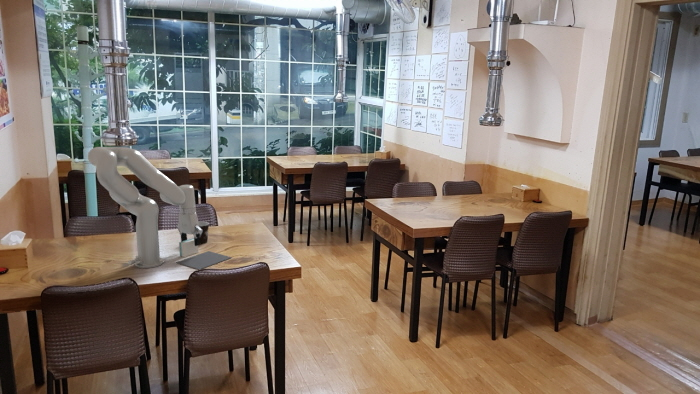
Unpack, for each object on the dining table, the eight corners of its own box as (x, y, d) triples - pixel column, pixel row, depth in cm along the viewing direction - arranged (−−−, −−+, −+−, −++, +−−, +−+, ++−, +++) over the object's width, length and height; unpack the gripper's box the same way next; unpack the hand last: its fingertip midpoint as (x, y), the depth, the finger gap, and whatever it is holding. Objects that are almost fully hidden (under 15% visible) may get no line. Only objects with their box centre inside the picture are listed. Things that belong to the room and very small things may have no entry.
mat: (199, 270, 237) (199, 269, 237) (176, 262, 245) (176, 262, 245) (231, 258, 253) (231, 257, 253) (208, 251, 262) (208, 251, 262)
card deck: (184, 257, 253) (183, 243, 252) (179, 256, 255) (179, 242, 253) (198, 252, 261) (197, 239, 259) (194, 251, 262) (193, 238, 261)
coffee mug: (199, 245, 271) (198, 227, 269) (189, 242, 276) (188, 224, 274) (217, 240, 280) (216, 222, 278) (207, 237, 285) (206, 219, 283)
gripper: (169, 209, 255) (173, 242, 259) (193, 214, 246) (196, 248, 250) (182, 206, 261) (185, 238, 265) (205, 210, 252) (208, 244, 256)
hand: (190, 243), depth 258 cm, fingers open, 9 cm apart
